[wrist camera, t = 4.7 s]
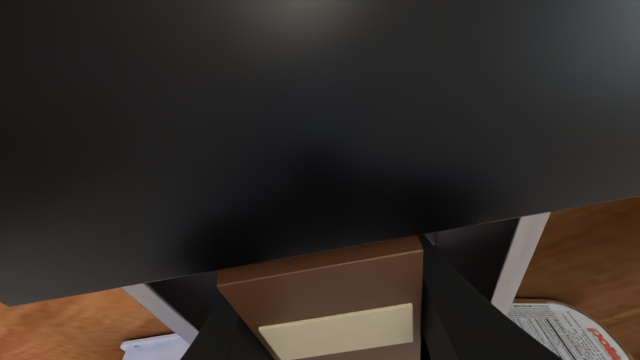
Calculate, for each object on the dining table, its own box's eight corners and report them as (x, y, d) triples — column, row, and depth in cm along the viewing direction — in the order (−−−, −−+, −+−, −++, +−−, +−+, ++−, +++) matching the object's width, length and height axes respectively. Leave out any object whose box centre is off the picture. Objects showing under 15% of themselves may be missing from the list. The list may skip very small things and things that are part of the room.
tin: (411, 311, 25) (451, 441, 19) (423, 291, 23) (472, 428, 17) (568, 311, 27) (653, 429, 21) (592, 293, 25) (694, 417, 19)
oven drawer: (447, 287, 21) (491, 390, 17) (268, 315, 22) (260, 420, 18) (483, 17, 10) (651, 91, 5) (123, 101, 11) (-8, 225, 6)
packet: (292, 287, 15) (291, 384, 11) (239, 181, 10) (214, 290, 7) (393, 270, 14) (421, 366, 11) (383, 152, 10) (425, 254, 7)
